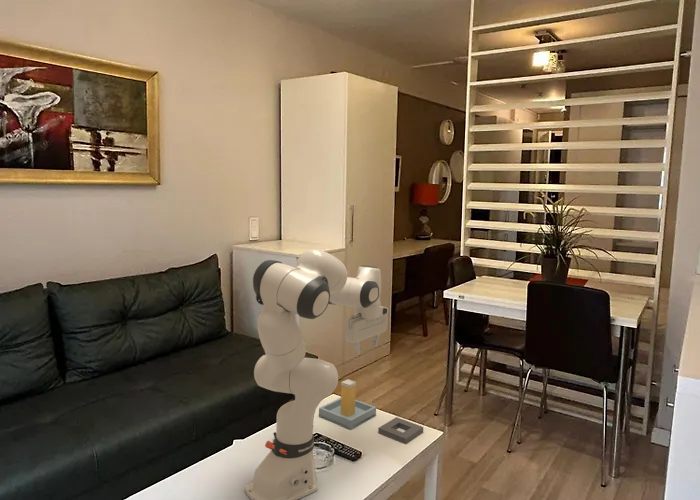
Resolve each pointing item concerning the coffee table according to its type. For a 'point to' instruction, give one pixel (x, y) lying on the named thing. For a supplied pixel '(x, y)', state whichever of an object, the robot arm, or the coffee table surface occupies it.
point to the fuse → (348, 397)
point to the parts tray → (334, 415)
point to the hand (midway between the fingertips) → (366, 349)
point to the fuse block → (403, 437)
